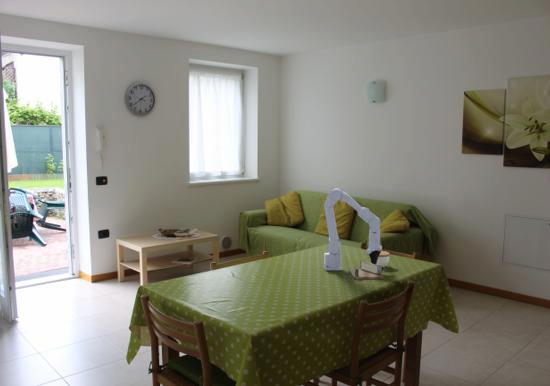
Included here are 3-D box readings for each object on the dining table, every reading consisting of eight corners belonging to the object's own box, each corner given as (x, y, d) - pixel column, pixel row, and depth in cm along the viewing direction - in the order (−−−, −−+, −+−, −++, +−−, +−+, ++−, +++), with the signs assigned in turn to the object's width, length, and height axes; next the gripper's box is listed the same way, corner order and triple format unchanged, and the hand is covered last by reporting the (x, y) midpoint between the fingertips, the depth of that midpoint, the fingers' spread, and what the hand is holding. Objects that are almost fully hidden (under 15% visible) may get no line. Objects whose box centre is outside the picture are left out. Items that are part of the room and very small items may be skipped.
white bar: (382, 274, 253) (382, 265, 252) (379, 274, 252) (380, 266, 251) (361, 267, 264) (361, 260, 264) (359, 268, 263) (359, 260, 263)
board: (353, 279, 249) (354, 269, 248) (348, 271, 264) (349, 262, 263) (383, 279, 249) (383, 269, 249) (376, 271, 264) (376, 262, 263)
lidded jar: (388, 264, 279) (388, 248, 278) (390, 269, 268) (391, 252, 267) (368, 263, 280) (369, 247, 279) (370, 268, 269) (371, 251, 268)
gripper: (374, 242, 253) (374, 268, 255) (387, 238, 265) (386, 262, 266) (362, 240, 258) (362, 266, 259) (375, 236, 269) (375, 260, 271)
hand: (373, 264), depth 263 cm, fingers closed
